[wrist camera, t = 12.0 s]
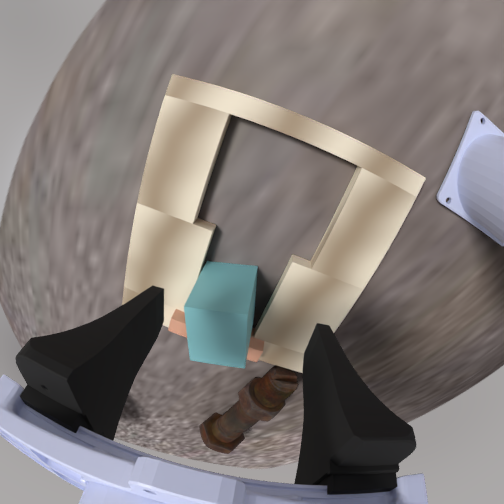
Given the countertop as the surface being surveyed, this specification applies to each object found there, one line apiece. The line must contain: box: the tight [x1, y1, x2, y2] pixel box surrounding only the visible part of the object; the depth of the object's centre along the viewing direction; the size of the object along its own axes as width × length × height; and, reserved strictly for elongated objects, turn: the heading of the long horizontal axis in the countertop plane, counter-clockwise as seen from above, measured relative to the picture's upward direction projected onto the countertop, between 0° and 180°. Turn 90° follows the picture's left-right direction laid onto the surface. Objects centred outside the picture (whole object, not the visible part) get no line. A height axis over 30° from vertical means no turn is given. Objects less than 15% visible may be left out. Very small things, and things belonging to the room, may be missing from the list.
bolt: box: [199, 366, 298, 454], centre depth 29 cm, size 6×5×15 cm
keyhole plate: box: [122, 74, 426, 373], centre depth 21 cm, size 18×20×2 cm
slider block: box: [184, 261, 258, 368], centre depth 22 cm, size 4×5×6 cm
